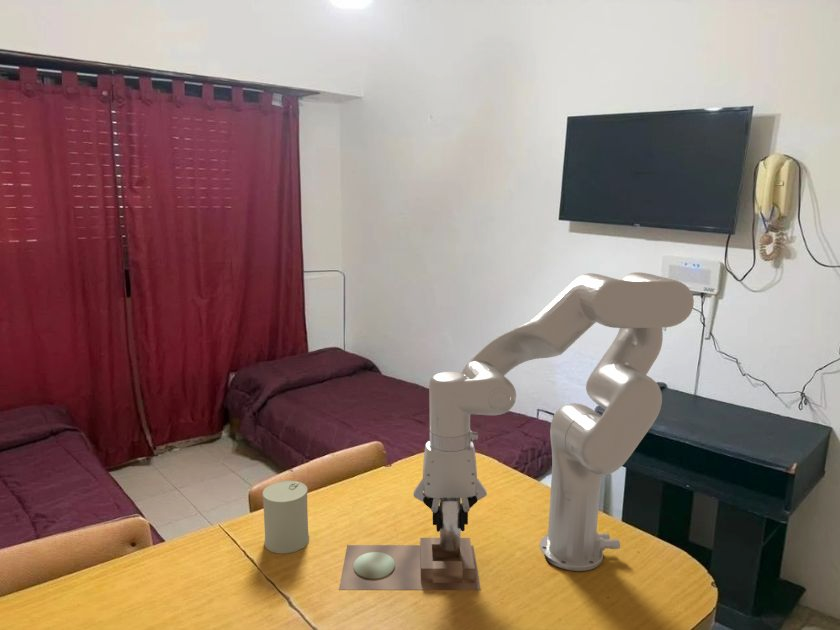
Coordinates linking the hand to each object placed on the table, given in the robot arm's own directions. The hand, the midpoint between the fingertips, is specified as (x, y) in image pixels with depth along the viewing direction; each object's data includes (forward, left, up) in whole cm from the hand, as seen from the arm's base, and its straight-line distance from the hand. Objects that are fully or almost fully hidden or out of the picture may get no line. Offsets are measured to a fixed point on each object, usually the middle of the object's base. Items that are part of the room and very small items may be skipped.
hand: (450, 526), depth 115 cm
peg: (0, 0, -4) cm, 4 cm away
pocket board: (+8, 0, -9) cm, 12 cm away
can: (+34, -10, -10) cm, 36 cm away
